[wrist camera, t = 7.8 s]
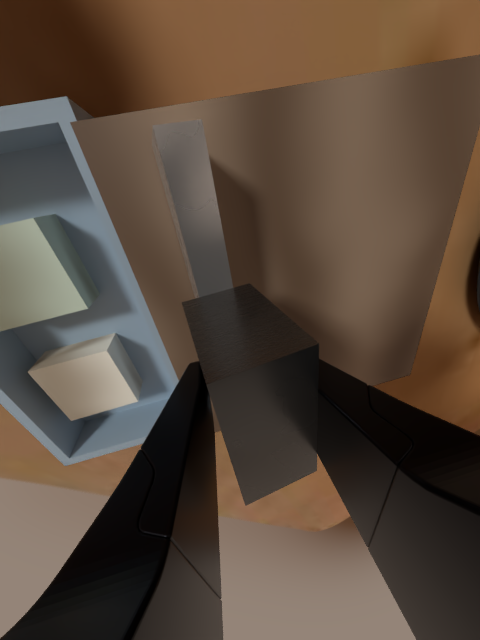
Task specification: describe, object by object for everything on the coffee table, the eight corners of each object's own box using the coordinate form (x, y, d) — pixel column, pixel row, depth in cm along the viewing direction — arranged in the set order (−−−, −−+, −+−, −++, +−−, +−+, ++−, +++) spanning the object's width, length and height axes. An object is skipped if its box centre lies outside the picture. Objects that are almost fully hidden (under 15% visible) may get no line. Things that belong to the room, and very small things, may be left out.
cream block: (27, 372, 13) (45, 351, 15) (71, 420, 16) (82, 398, 17) (106, 350, 14) (115, 332, 15) (138, 401, 16) (142, 381, 18)
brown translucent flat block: (394, 98, 13) (500, 51, 8) (363, 336, 21) (410, 374, 17) (113, 147, 11) (69, 122, 7) (198, 381, 19) (202, 436, 15)
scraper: (205, 137, 8) (325, 9, 3) (255, 408, 15) (315, 527, 10) (132, 147, 7) (86, 15, 2) (220, 422, 15) (262, 557, 9)
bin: (99, 122, 11) (66, 96, 8) (199, 390, 20) (201, 426, 17) (-130, 160, 10) (-265, 147, 7) (84, 422, 19) (65, 465, 16)
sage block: (-79, 243, 10) (-39, 235, 11) (-1, 331, 12) (22, 314, 14) (32, 217, 10) (55, 213, 12) (88, 308, 12) (100, 294, 14)
